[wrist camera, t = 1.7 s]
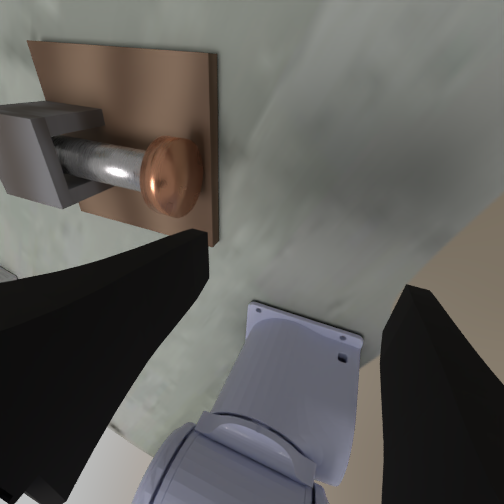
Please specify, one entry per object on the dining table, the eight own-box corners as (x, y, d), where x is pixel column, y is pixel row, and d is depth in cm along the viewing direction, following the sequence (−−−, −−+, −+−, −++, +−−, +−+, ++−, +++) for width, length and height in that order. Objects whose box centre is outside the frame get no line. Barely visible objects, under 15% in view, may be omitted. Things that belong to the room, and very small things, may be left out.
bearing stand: (217, 53, 15) (147, 47, 10) (218, 240, 22) (176, 285, 17) (41, 41, 18) (-69, 32, 14) (90, 206, 25) (27, 236, 21)
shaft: (201, 132, 16) (153, 148, 13) (204, 201, 19) (165, 231, 15) (80, 113, 19) (13, 123, 15) (97, 176, 21) (43, 197, 18)
